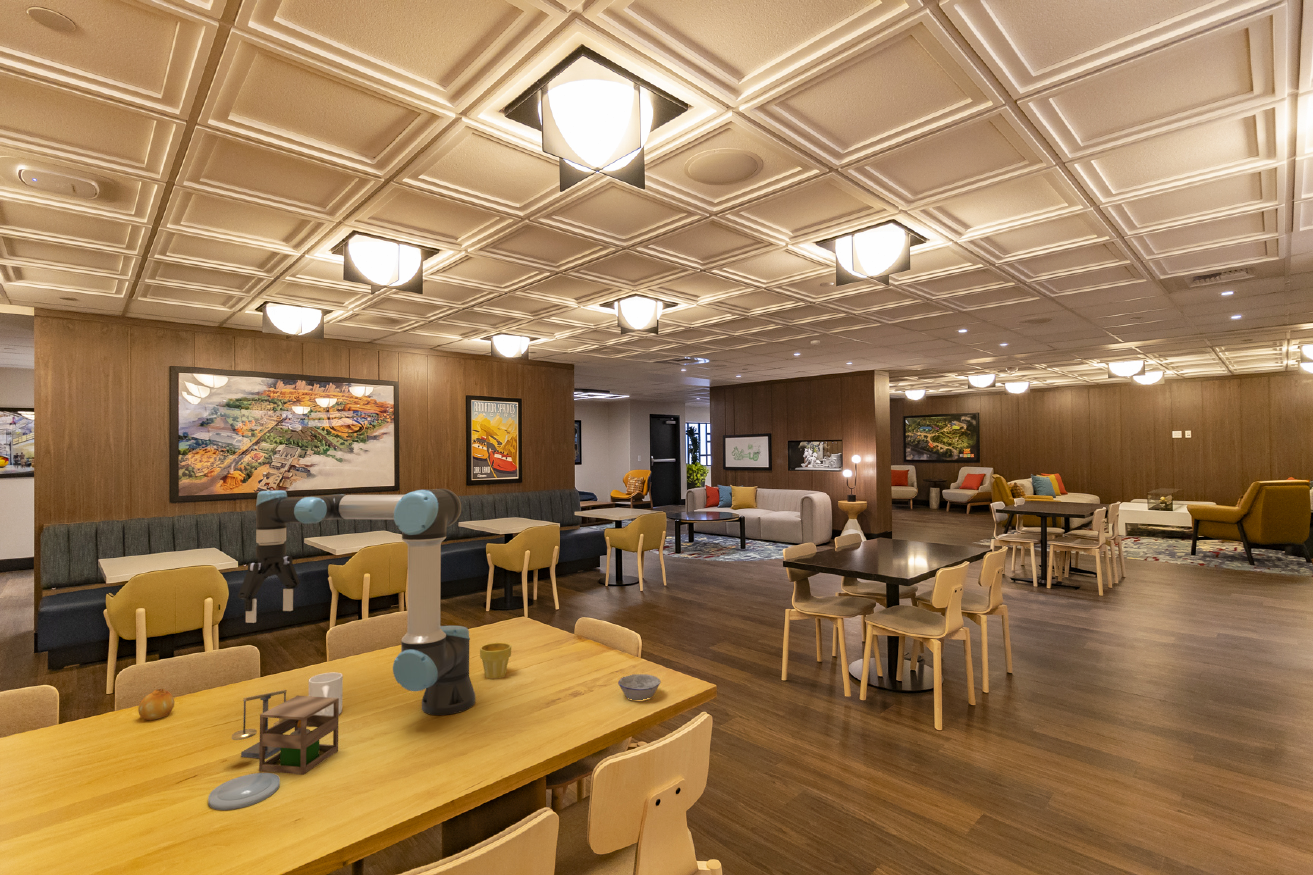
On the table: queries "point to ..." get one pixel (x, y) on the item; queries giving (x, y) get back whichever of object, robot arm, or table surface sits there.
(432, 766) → the table surface
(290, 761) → the candle
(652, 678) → the bowl
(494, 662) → the plant pot
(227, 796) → the dish
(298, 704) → the crate
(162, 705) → the brown onion
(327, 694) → the mug
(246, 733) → the balance
